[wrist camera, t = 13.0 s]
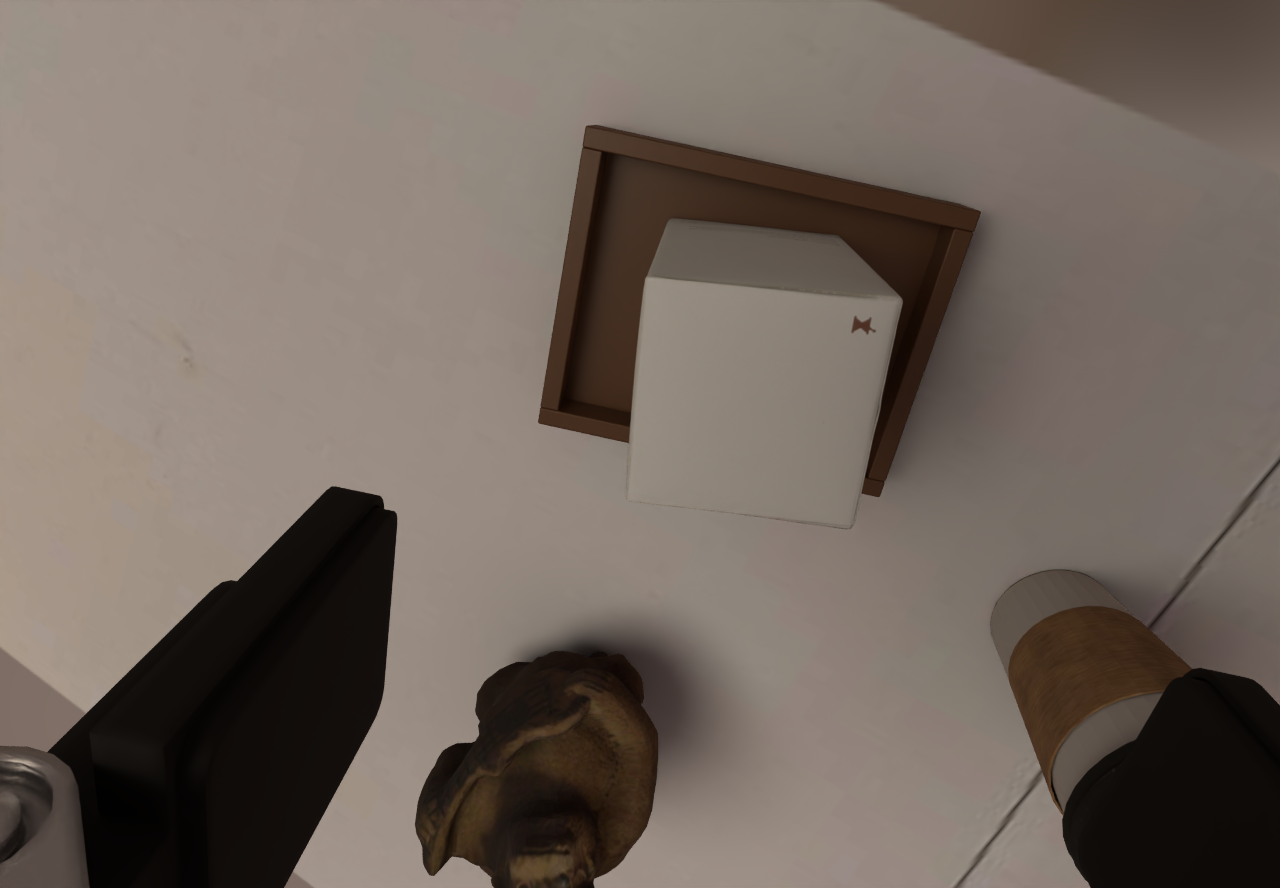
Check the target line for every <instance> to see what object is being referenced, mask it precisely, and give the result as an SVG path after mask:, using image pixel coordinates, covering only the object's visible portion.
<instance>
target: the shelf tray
mask: <svg viewBox="0 0 1280 888" xmlns="http://www.w3.org/2000/svg"><path fill="white" fill-rule="evenodd" d="M980 214H981V212H980V211H978V210H975V209H972V208H970V207H967V206H964V205H961V204H957V203H953V202H948V201H943V200H939V199H934V198H930V197H925V196H920V195H916V194H911V193H907V192H902V191H898V190H893V189H888V188H884V187H879V186H875V185H870V184H865V183H861V182H856V181H852V180H847V179H842V178H838V177H833V176H829V175H824V174H819V173H815V172H810V171H806V170H801V169H796V168H792V167H787V166H783V165H778V164H773V163H769V162H764V161H760V160H755V159H751V158H746V157H741V156H737V155H732V154H728V153H723V152H718V151H714V150H709V149H705V148H700V147H695V146H691V145H686V144H682V143H677V142H672V141H668V140H663V139H659V138H654V137H649V136H645V135H640V134H636V133H631V132H627V131H622V130H617V129H613V128H608V127H604V126H599V125H591V126H586V128H585V135H584V141H583V148H582V153H581V159H580V165H579V172H578V178H577V184H576V190H575V196H574V203H573V209H572V215H571V221H570V227H569V234H568V240H567V246H566V252H565V258H564V265H563V271H562V277H561V283H560V289H559V296H558V302H557V308H556V314H555V320H554V326H553V333H552V339H551V345H550V351H549V357H548V364H547V370H546V376H545V382H544V388H543V395H542V401H541V408H540V414H539V420H538V422H539V423H540V424H544V425H549V426H553V427H558V428H562V429H567V430H572V431H576V432H581V433H585V434H590V435H595V436H599V437H604V438H608V439H613V440H618V441H622V442H627V443H629V436H630V423H631V410H632V397H633V385H634V372H635V362H636V352H637V342H638V333H639V324H640V315H641V306H642V298H643V290H644V284H645V278H646V277H647V275H648V272H649V270H650V267H651V265H652V262H653V260H654V257H655V254H656V252H657V249H658V246H659V243H660V241H661V238H662V236H663V233H664V230H665V228H666V225H667V223H668V221H669V220H670V219H672V218H678V219H689V220H700V221H709V222H719V223H728V224H738V225H747V226H757V227H766V228H775V229H784V230H793V231H802V232H811V233H821V234H831V235H838V236H840V238H841V239H842V240H843V241H845V242H846V243H847V244H848V246H849V247H850V248H852V249H853V250H854V251H855V252H856V253H857V254H858V255H859V256H860V257H861V258H862V259H863V260H864V261H865V262H866V263H867V264H868V265H869V266H870V267H871V268H872V269H873V270H874V271H875V272H876V273H877V274H878V275H879V276H880V277H881V278H882V279H883V280H884V281H885V282H886V283H887V284H888V285H889V286H890V287H891V288H892V289H893V290H894V291H895V292H896V293H897V294H898V295H899V296H900V297H901V298H902V300H903V304H902V308H901V312H900V316H899V320H898V324H897V329H896V334H895V339H894V343H893V348H892V352H891V356H890V361H889V365H888V370H887V375H886V380H885V385H884V389H883V393H882V399H881V408H880V413H879V417H878V421H877V424H876V428H875V432H874V436H873V440H872V445H871V450H870V455H869V459H868V464H867V469H866V473H865V478H864V483H863V487H862V494H866V495H871V496H875V497H880V494H881V492H882V489H883V486H884V481H885V480H886V478H887V475H888V472H889V469H890V466H891V463H892V461H893V458H894V455H895V452H896V449H897V447H898V444H899V441H900V438H901V435H902V433H903V430H904V427H905V424H906V421H907V419H908V416H909V413H910V410H911V407H912V404H913V402H914V399H915V396H916V393H917V390H918V388H919V385H920V382H921V379H922V376H923V374H924V371H925V368H926V365H927V362H928V360H929V357H930V354H931V351H932V348H933V345H934V343H935V340H936V337H937V334H938V331H939V329H940V326H941V323H942V320H943V317H944V315H945V312H946V309H947V306H948V303H949V300H950V298H951V295H952V292H953V289H954V286H955V284H956V281H957V278H958V275H959V272H960V270H961V267H962V264H963V261H964V258H965V256H966V253H967V250H968V247H969V244H970V241H971V239H972V236H973V232H974V230H975V228H976V225H977V222H978V219H979V217H980Z"/></svg>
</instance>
